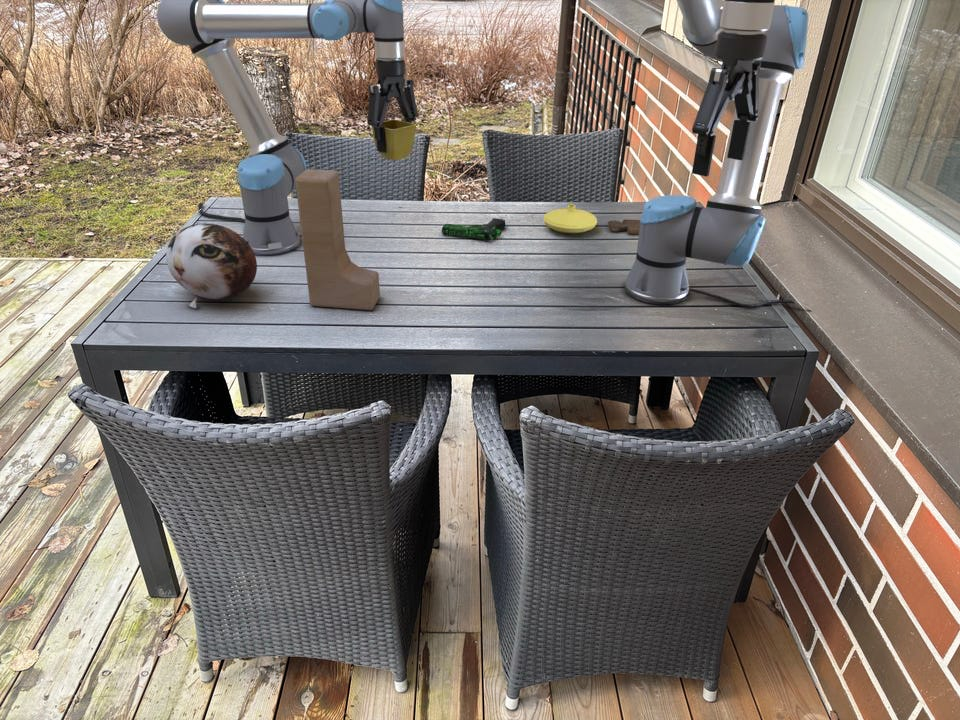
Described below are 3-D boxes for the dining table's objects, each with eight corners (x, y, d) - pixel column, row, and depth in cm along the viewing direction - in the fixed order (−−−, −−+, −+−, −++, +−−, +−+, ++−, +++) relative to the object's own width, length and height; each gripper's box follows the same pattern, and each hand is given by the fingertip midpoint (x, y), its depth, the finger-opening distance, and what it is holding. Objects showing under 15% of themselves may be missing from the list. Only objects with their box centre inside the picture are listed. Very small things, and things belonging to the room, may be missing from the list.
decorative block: (372, 311, 163) (363, 181, 148) (309, 306, 165) (293, 177, 149) (380, 297, 169) (373, 171, 154) (319, 292, 171) (306, 168, 156)
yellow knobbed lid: (559, 216, 220) (561, 193, 217) (605, 227, 212) (608, 204, 209) (532, 230, 209) (533, 207, 206) (580, 242, 201) (582, 218, 198)
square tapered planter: (418, 157, 195) (417, 123, 190) (394, 164, 189) (392, 129, 185) (396, 151, 200) (394, 118, 195) (372, 158, 194) (370, 124, 190)
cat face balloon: (130, 285, 161) (164, 203, 163) (192, 308, 177) (221, 233, 178) (195, 307, 151) (229, 220, 152) (254, 330, 166) (285, 250, 168)
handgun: (511, 219, 210) (493, 234, 198) (511, 228, 211) (492, 244, 199) (461, 212, 215) (440, 226, 203) (461, 221, 217) (440, 236, 204)
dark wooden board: (699, 237, 207) (691, 225, 216) (700, 231, 206) (692, 220, 215) (610, 234, 207) (606, 222, 216) (611, 228, 207) (607, 217, 215)
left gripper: (410, 53, 191) (413, 139, 202) (347, 61, 177) (355, 153, 188) (430, 55, 187) (432, 143, 198) (367, 65, 173) (374, 158, 184)
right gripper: (752, 23, 122) (728, 149, 133) (683, 35, 106) (663, 177, 117) (796, 27, 118) (768, 156, 129) (731, 40, 102) (705, 186, 113)
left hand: (394, 148), depth 193 cm, fingers closed on square tapered planter, 9 cm apart
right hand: (718, 166), depth 123 cm, fingers open, 13 cm apart
